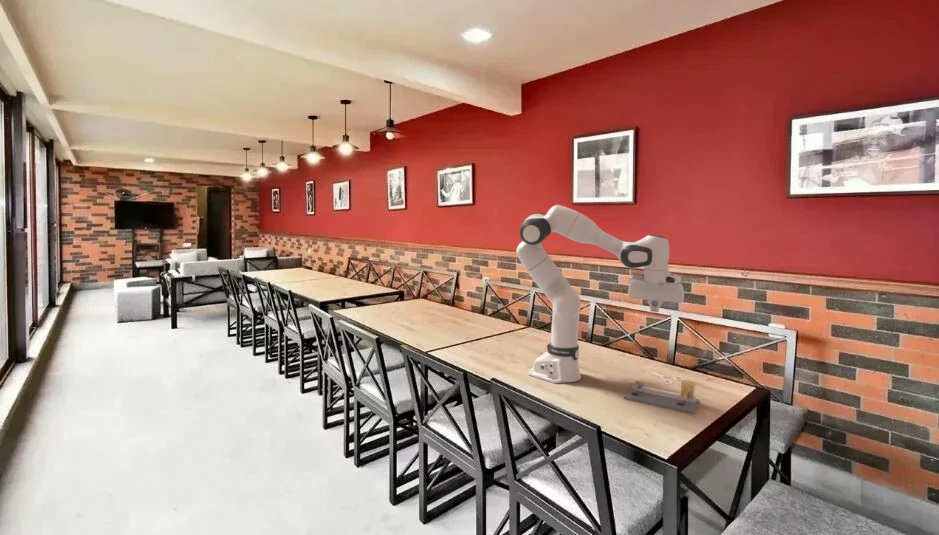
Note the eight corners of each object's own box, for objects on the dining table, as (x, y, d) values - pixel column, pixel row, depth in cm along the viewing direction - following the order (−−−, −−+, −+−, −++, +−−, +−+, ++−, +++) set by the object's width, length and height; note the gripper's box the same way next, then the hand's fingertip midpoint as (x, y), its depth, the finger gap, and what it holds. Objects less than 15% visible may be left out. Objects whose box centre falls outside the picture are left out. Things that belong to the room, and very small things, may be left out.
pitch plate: (623, 398, 170) (623, 388, 169) (632, 388, 179) (633, 378, 179) (693, 414, 156) (694, 403, 155) (699, 402, 165) (699, 392, 165)
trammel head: (678, 402, 162) (679, 385, 161) (682, 395, 167) (683, 379, 167) (690, 404, 159) (691, 388, 158) (694, 398, 165) (695, 382, 164)
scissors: (672, 385, 181) (633, 370, 199) (672, 387, 182) (633, 371, 199) (690, 380, 186) (650, 366, 204) (689, 382, 186) (650, 367, 204)
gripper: (626, 275, 178) (625, 309, 180) (682, 279, 166) (680, 316, 168) (630, 273, 183) (629, 307, 185) (685, 277, 171) (684, 313, 173)
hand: (654, 311), depth 176 cm, fingers closed
